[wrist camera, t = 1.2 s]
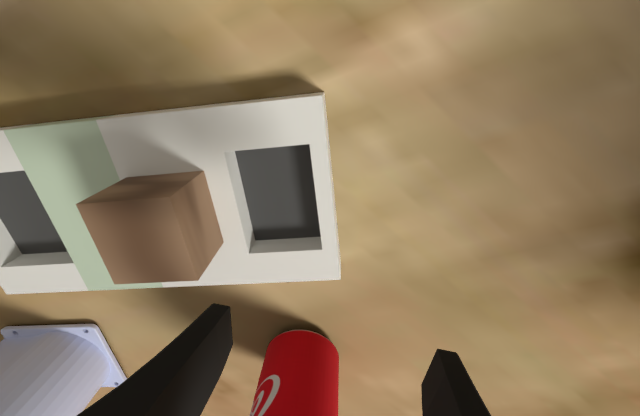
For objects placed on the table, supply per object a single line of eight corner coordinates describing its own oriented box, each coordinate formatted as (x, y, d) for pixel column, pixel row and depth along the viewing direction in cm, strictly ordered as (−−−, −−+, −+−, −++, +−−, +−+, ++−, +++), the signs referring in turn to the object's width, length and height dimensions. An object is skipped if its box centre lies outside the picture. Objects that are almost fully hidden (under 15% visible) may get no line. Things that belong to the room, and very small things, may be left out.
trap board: (30, 278, 26) (6, 294, 24) (-59, 134, 21) (-98, 141, 19) (340, 262, 23) (340, 279, 21) (324, 91, 18) (322, 95, 16)
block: (153, 246, 21) (114, 284, 17) (126, 177, 19) (75, 204, 15) (223, 242, 21) (198, 280, 17) (203, 170, 18) (169, 196, 15)
